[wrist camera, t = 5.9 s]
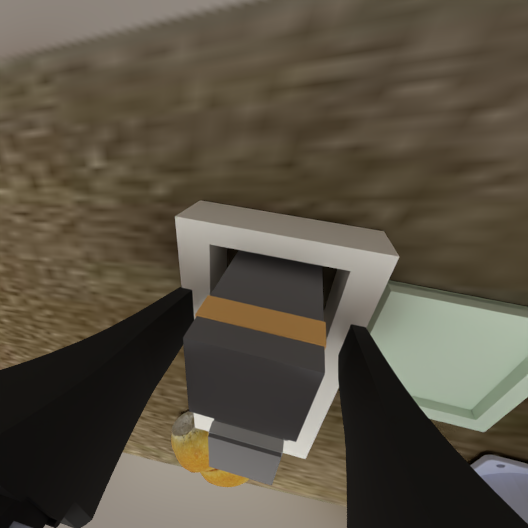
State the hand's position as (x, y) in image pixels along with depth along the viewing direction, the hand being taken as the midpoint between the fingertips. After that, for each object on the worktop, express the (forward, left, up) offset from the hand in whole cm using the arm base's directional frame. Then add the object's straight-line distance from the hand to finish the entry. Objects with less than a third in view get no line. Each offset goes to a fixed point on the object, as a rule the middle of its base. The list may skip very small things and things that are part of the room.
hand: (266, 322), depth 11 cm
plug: (0, 0, -3) cm, 3 cm away
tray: (-10, +3, -3) cm, 11 cm away
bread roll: (+3, +20, -4) cm, 20 cm away
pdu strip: (0, +5, -3) cm, 6 cm away
